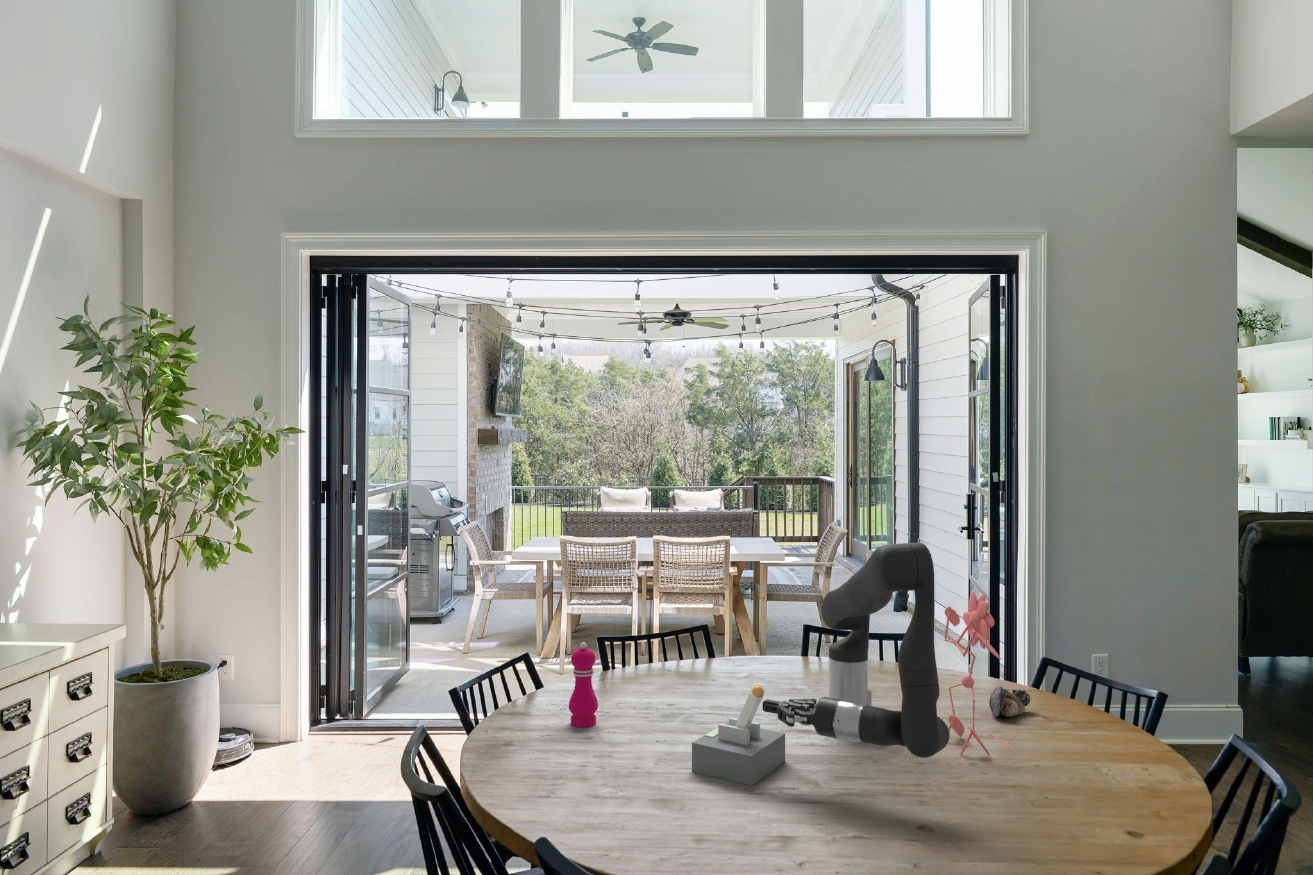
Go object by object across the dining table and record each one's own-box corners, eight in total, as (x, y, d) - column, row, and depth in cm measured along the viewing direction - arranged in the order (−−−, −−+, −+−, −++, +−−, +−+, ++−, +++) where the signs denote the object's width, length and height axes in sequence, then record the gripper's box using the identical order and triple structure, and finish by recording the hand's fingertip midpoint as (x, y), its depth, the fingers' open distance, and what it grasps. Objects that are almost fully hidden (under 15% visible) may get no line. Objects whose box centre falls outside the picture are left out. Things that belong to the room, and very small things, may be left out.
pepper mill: (593, 729, 206) (593, 646, 206) (564, 727, 207) (564, 644, 208) (601, 719, 213) (601, 639, 213) (573, 717, 215) (573, 638, 215)
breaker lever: (736, 730, 185) (758, 681, 182) (746, 737, 183) (768, 688, 180) (729, 734, 182) (751, 684, 179) (739, 741, 181) (762, 691, 178)
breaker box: (728, 748, 193) (728, 708, 193) (785, 761, 185) (785, 719, 185) (691, 771, 180) (691, 728, 180) (751, 785, 172) (751, 741, 172)
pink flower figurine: (974, 769, 180) (977, 603, 180) (924, 729, 206) (927, 583, 206) (1043, 768, 181) (1046, 603, 182) (985, 728, 207) (988, 584, 208)
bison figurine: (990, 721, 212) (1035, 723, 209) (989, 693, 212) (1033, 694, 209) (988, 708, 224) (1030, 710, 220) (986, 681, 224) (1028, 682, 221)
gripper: (854, 692, 175) (777, 679, 185) (830, 709, 164) (749, 694, 174) (854, 729, 175) (777, 714, 185) (830, 748, 164) (749, 731, 174)
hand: (764, 705), depth 179 cm, fingers closed
